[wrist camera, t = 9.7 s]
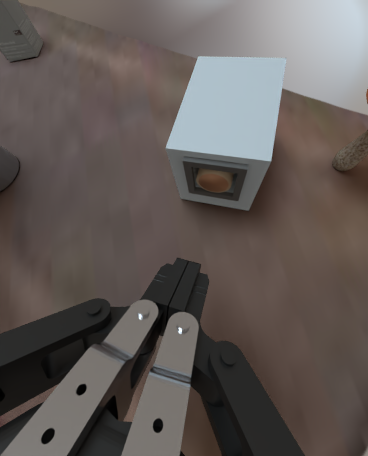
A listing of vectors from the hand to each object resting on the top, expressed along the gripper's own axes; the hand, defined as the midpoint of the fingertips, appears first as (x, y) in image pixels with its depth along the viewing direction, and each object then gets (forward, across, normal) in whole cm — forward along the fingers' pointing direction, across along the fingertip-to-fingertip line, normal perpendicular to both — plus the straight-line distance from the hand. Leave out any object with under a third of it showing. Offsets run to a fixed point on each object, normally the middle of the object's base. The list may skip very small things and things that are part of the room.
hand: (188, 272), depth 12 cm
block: (+22, -1, +3) cm, 23 cm away
